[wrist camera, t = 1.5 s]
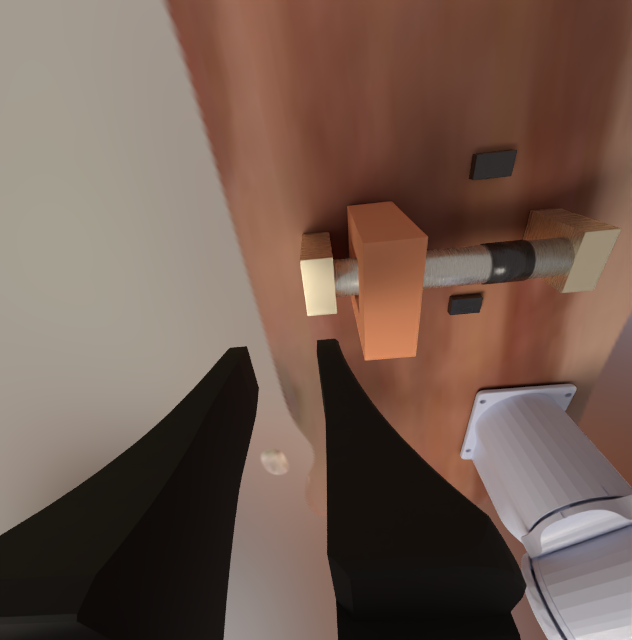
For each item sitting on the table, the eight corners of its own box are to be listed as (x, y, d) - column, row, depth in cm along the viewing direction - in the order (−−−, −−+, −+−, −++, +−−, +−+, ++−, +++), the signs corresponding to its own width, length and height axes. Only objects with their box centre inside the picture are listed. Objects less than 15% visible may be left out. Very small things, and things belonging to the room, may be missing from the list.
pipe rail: (580, 141, 16) (660, 147, 12) (527, 304, 21) (571, 341, 17) (294, 174, 16) (290, 188, 13) (313, 323, 22) (313, 362, 18)
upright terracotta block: (391, 201, 17) (428, 237, 12) (388, 294, 20) (415, 356, 15) (347, 205, 17) (363, 243, 12) (351, 298, 20) (364, 360, 15)
